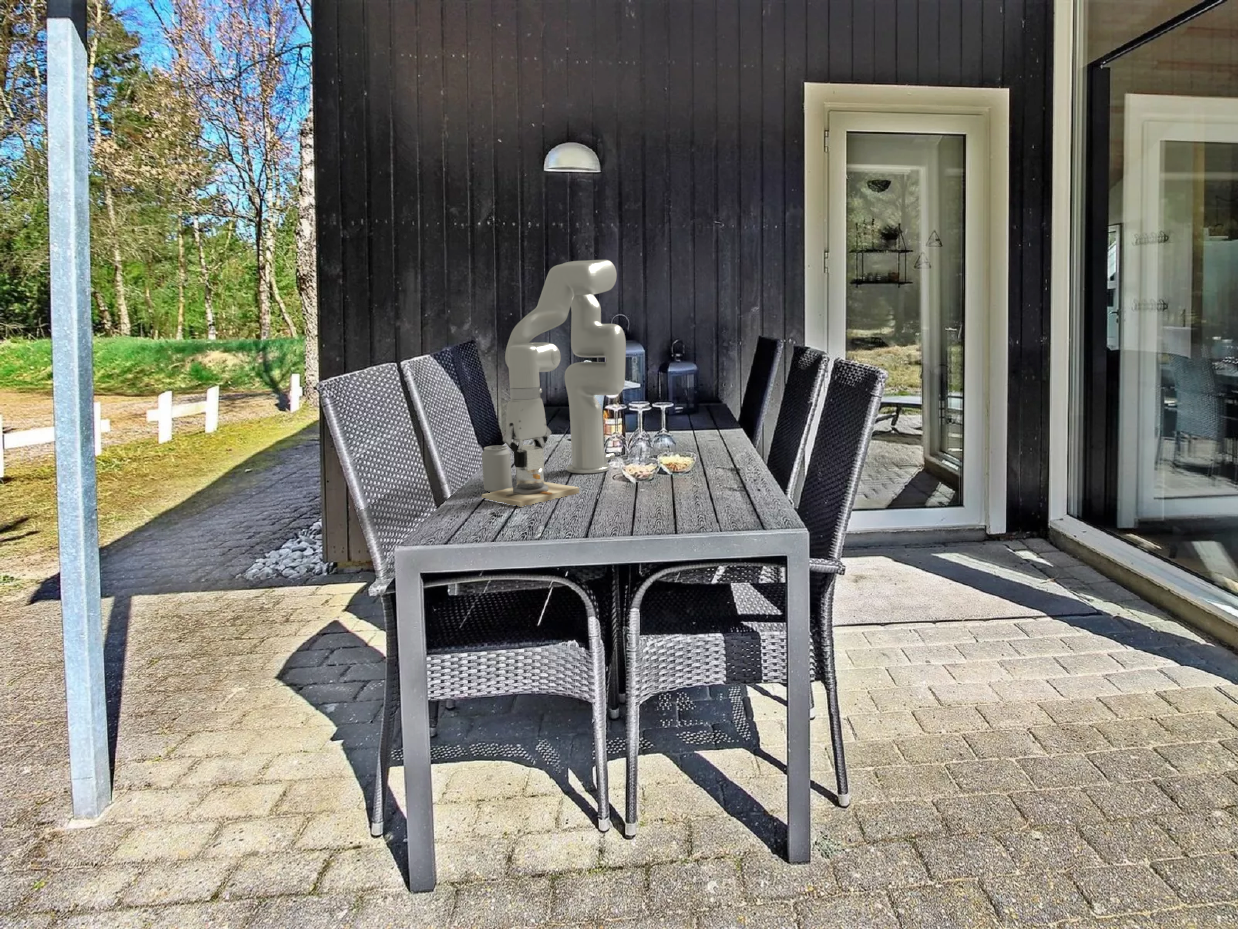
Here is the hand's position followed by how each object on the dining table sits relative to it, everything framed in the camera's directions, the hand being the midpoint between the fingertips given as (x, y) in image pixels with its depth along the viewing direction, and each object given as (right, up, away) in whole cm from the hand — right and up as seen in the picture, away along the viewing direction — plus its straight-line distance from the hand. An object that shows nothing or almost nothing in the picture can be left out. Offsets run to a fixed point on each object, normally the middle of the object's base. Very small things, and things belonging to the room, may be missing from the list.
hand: (529, 464), depth 222 cm
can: (-9, -7, +10) cm, 15 cm away
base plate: (0, -8, +1) cm, 8 cm away
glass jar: (0, -6, +1) cm, 6 cm away
